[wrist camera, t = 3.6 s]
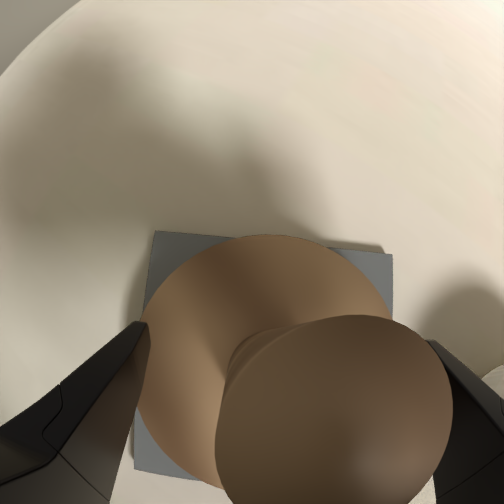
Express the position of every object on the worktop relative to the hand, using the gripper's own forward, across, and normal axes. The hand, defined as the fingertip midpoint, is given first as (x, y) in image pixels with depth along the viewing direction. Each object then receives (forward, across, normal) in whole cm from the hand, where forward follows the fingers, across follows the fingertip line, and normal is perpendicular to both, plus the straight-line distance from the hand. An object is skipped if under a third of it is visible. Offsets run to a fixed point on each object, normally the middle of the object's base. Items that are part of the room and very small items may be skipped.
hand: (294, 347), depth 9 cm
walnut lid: (+3, 0, +5) cm, 6 cm away
